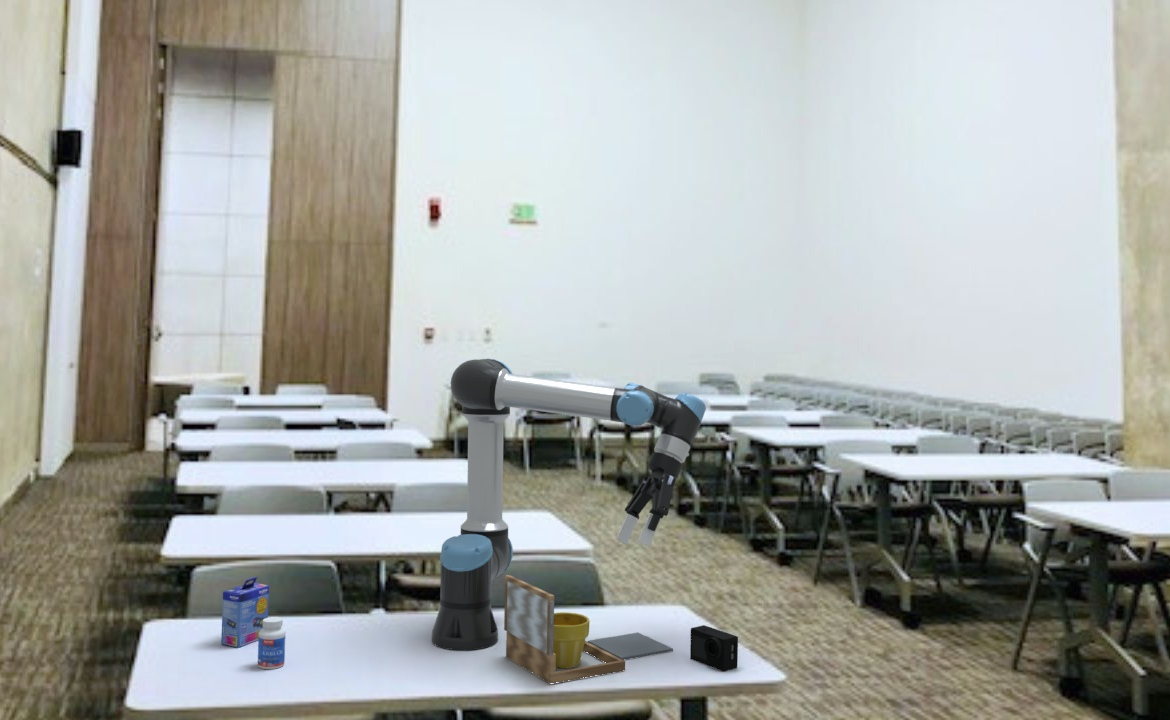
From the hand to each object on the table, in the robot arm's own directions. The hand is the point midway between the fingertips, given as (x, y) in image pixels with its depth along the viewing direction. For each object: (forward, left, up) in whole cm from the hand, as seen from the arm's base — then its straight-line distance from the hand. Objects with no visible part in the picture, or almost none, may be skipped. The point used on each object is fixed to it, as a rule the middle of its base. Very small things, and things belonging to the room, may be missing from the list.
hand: (632, 543), depth 220 cm
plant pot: (+1, -18, -25) cm, 30 cm away
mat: (-2, +1, -24) cm, 24 cm away
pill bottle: (-27, -73, -25) cm, 81 cm away
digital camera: (+16, +11, -25) cm, 31 cm away
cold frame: (+1, -18, -24) cm, 30 cm away
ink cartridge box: (-47, -74, -25) cm, 91 cm away
